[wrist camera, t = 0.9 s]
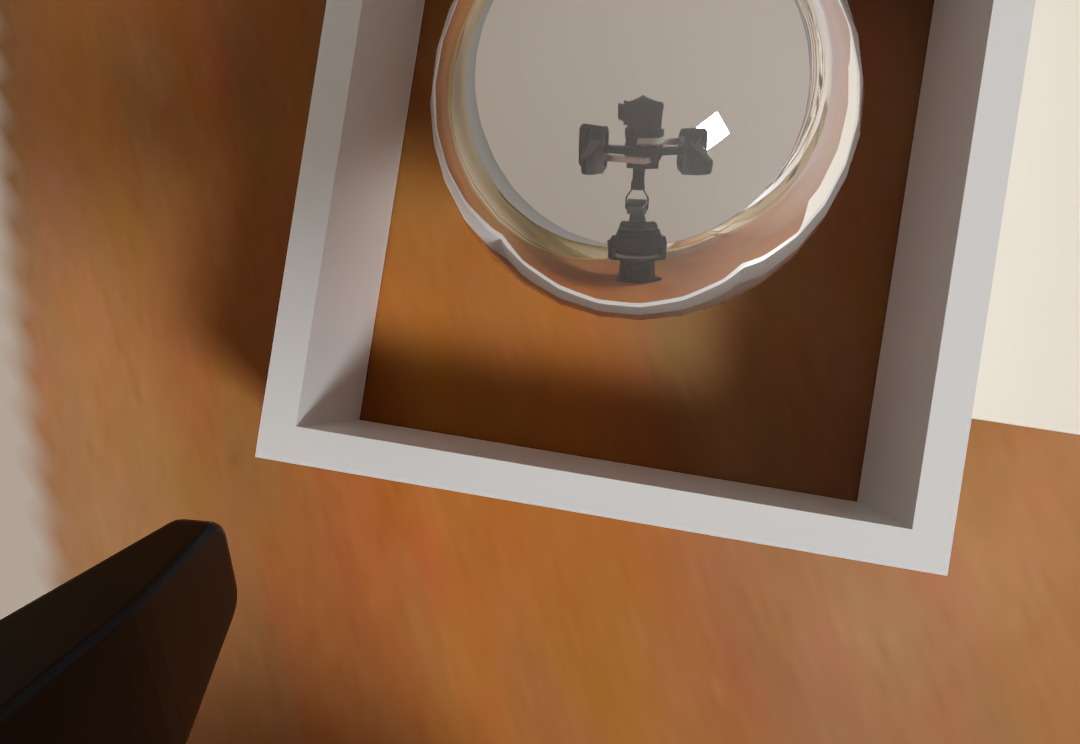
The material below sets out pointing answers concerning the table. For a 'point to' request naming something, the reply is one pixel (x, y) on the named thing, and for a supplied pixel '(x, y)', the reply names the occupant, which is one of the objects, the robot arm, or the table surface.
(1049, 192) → the cream board
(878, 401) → the grey box
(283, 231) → the table surface
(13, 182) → the table surface
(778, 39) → the light bulb
